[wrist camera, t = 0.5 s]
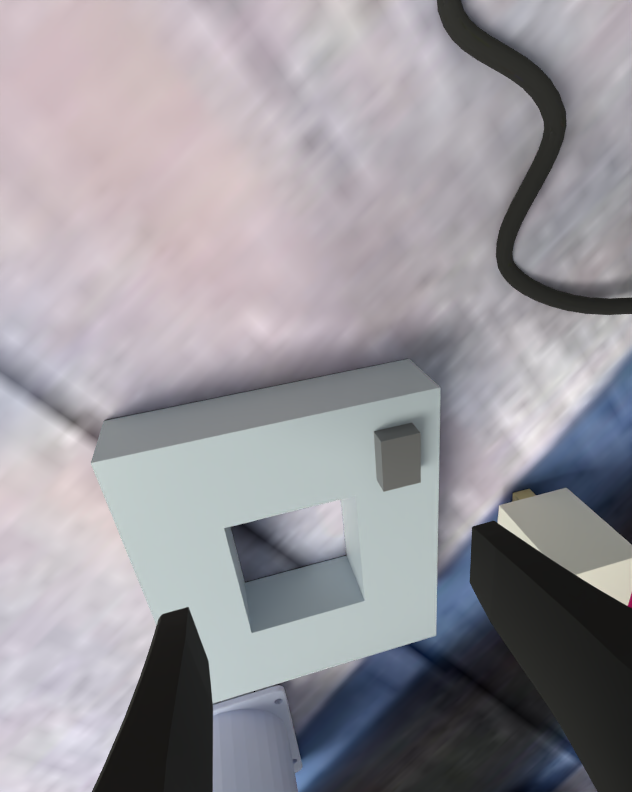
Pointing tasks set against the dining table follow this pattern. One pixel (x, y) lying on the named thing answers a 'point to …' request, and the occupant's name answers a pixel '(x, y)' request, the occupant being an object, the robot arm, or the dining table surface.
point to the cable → (554, 130)
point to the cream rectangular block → (572, 538)
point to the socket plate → (277, 494)
